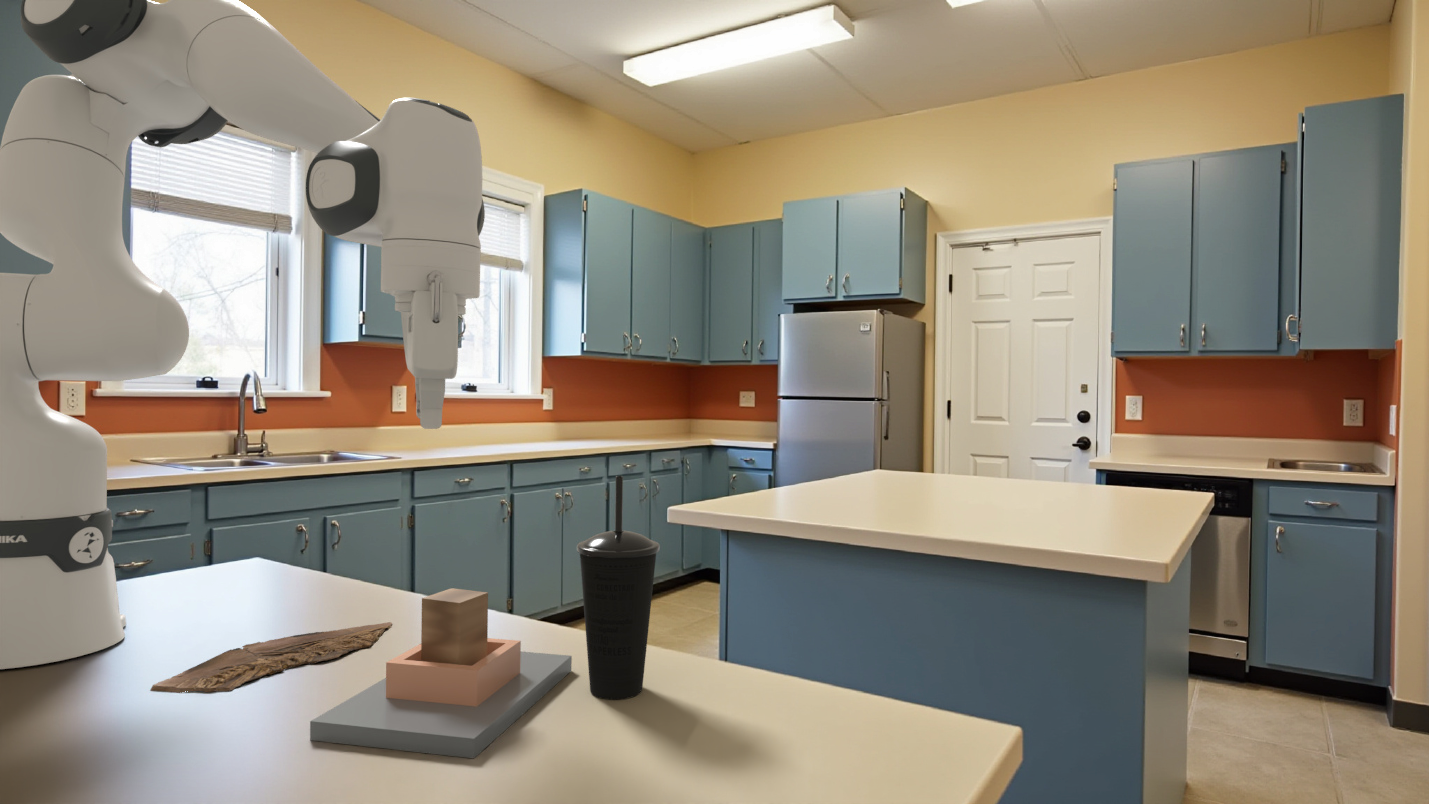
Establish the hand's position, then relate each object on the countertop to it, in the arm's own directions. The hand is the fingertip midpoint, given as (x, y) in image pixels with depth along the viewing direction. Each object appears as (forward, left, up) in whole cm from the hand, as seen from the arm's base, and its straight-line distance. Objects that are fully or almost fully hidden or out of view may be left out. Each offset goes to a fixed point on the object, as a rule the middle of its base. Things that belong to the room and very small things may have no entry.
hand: (428, 423), depth 78 cm
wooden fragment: (-17, +4, -25) cm, 31 cm away
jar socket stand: (+6, -4, -25) cm, 26 cm away
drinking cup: (+19, +2, -25) cm, 31 cm away
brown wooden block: (+5, -4, -23) cm, 24 cm away
